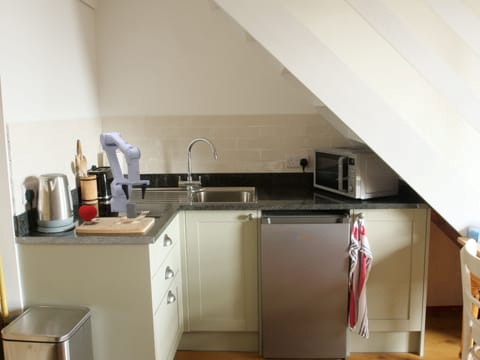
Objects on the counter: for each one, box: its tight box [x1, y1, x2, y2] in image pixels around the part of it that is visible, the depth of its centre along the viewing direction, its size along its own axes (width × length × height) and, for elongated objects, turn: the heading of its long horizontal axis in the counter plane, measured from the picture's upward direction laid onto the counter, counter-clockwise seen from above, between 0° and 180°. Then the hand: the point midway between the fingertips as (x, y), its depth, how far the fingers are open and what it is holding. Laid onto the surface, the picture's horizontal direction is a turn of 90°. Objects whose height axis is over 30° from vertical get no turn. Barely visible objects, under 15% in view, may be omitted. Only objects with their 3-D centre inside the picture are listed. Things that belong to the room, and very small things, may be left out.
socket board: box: [112, 210, 150, 225], centre depth 217 cm, size 12×26×2 cm, turn 0°
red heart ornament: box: [78, 204, 98, 225], centre depth 207 cm, size 9×7×10 cm
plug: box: [126, 201, 138, 218], centre depth 217 cm, size 4×4×7 cm
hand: (135, 199), depth 222 cm, fingers open, 7 cm apart
